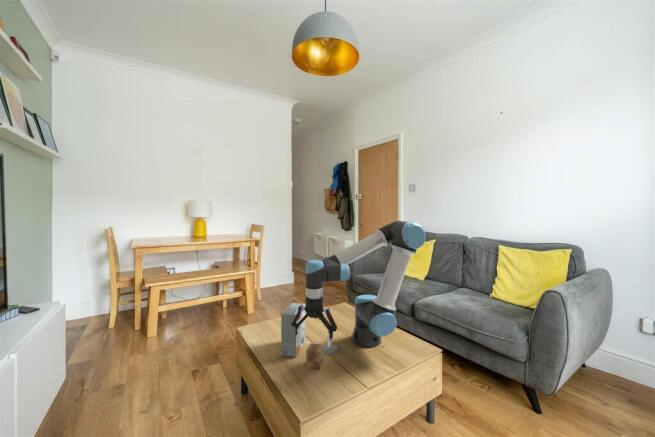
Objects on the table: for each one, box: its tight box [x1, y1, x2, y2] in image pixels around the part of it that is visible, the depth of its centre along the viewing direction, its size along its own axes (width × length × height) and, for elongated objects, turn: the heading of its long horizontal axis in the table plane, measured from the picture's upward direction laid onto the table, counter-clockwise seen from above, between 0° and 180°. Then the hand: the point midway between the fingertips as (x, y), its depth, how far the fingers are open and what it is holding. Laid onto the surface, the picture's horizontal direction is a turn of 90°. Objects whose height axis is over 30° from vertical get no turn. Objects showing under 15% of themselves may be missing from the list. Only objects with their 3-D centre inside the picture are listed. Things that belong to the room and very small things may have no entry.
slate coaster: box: [322, 343, 339, 355], centre depth 131 cm, size 9×9×1 cm
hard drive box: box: [280, 302, 306, 358], centre depth 131 cm, size 16×8×20 cm, turn 168°
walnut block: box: [305, 343, 324, 371], centre depth 118 cm, size 6×6×8 cm
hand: (313, 344), depth 117 cm, fingers open, 13 cm apart
